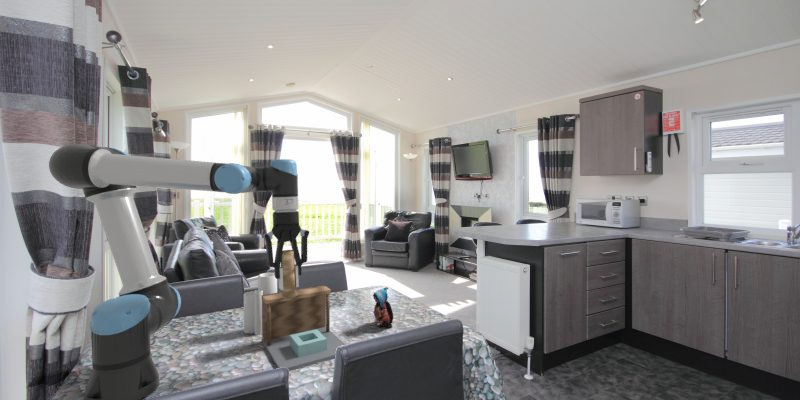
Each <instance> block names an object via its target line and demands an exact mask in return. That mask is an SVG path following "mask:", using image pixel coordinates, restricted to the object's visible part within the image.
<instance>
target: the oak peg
mask: <svg viewBox="0 0 800 400" xmlns="http://www.w3.org/2000/svg"><path fill="white" fill-rule="evenodd" d="M295 264H296V263H295V259H294V250H292V249H283V251H282V257H281V263H280V267H281V268H283V290H281V292H282V298H284V299H289V298H294V297H296V290H297V289H296V288H297V287H296V285H295Z"/></svg>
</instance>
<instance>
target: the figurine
mask: <svg viewBox="0 0 800 400" xmlns="http://www.w3.org/2000/svg"><path fill="white" fill-rule="evenodd" d="M387 290H389V287H388V286H385V287H384V288H380V289H378V290H376V291H375V292H373V294H372V297H373V300H375V301H374V302H375V305H374V309H373V315H374V317H375V319H374V324H376V326H377V327H380V328H383V329H392V328H393V324H392V323H393V320H394V312H393V310H392V305H391V303H390V302H389V301H388V291H387Z"/></svg>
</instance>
